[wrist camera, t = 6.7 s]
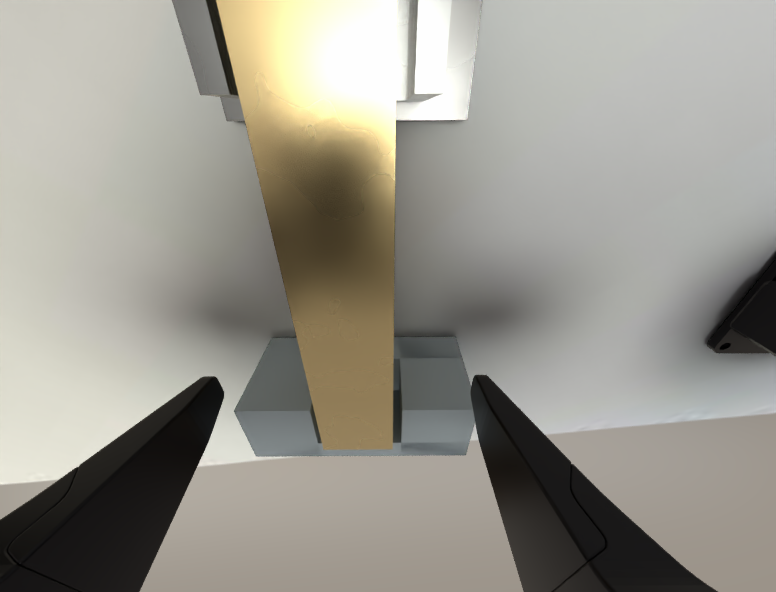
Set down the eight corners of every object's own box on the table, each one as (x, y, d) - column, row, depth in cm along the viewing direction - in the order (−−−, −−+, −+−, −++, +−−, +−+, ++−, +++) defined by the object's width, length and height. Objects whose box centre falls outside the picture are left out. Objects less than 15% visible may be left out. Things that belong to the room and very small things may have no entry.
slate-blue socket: (455, 336, 15) (478, 409, 11) (448, 380, 17) (465, 455, 13) (272, 337, 15) (233, 411, 11) (285, 381, 17) (256, 456, 13)
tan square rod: (393, -31, 6) (397, -125, 4) (391, 391, 15) (392, 449, 12) (264, -30, 6) (186, -123, 4) (334, 392, 15) (323, 449, 12)
